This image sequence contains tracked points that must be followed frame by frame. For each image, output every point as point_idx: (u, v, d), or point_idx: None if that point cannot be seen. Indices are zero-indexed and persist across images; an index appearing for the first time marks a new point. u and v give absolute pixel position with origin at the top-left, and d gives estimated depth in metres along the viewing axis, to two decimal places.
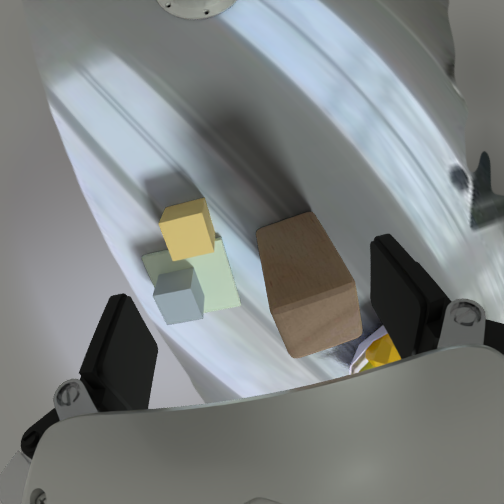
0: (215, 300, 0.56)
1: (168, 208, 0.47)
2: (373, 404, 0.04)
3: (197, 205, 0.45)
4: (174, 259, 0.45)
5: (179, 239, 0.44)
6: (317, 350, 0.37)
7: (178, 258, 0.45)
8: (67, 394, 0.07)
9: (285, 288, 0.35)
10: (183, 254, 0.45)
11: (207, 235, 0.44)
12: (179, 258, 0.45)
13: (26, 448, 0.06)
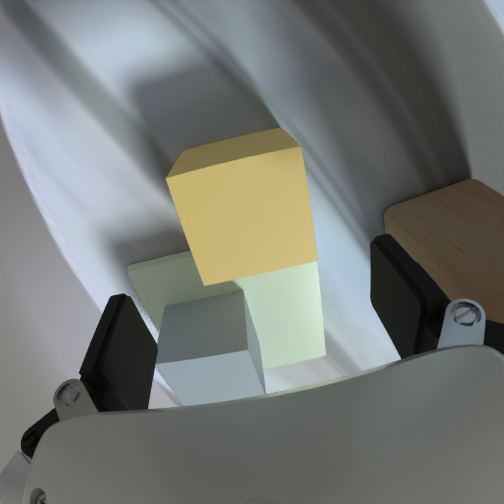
0: (280, 349, 0.28)
1: (191, 150, 0.18)
2: (373, 404, 0.04)
3: (273, 138, 0.16)
4: (208, 280, 0.17)
5: (226, 227, 0.15)
6: None
7: (219, 278, 0.17)
8: (67, 394, 0.07)
9: None
10: (234, 268, 0.17)
11: (307, 215, 0.15)
12: (222, 278, 0.17)
13: (26, 448, 0.06)
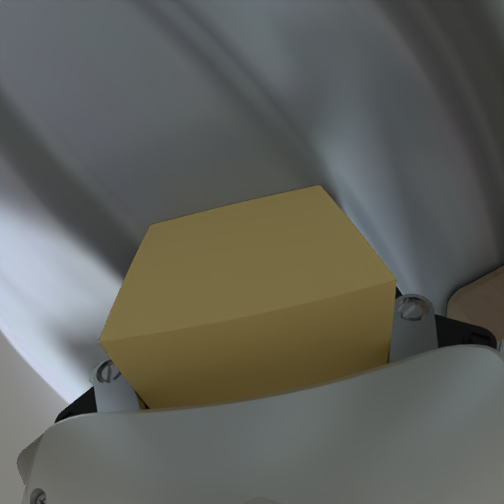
0: None
1: (162, 232, 0.10)
2: (373, 404, 0.04)
3: (318, 225, 0.08)
4: None
5: None
6: None
7: None
8: (109, 370, 0.08)
9: None
10: None
11: None
12: None
13: None
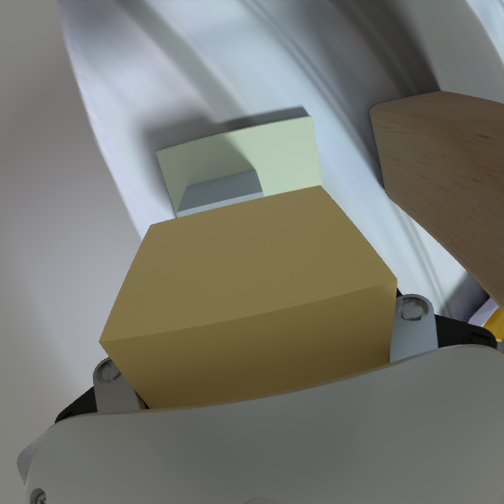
0: None
1: (163, 232, 0.10)
2: (373, 404, 0.04)
3: (319, 225, 0.08)
4: None
5: None
6: None
7: None
8: (109, 371, 0.08)
9: None
10: None
11: None
12: None
13: None
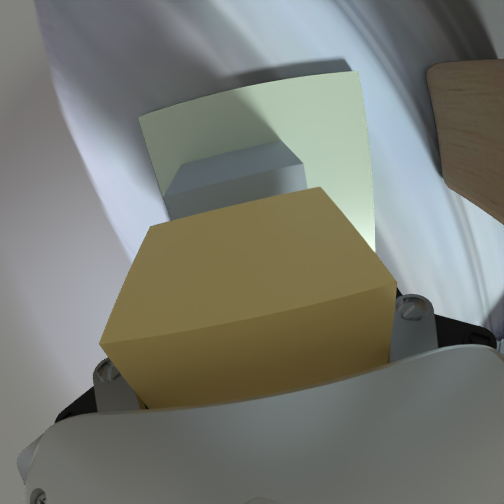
0: None
1: (162, 233, 0.10)
2: (373, 404, 0.04)
3: (319, 226, 0.08)
4: None
5: None
6: None
7: None
8: (109, 371, 0.08)
9: None
10: None
11: None
12: None
13: None
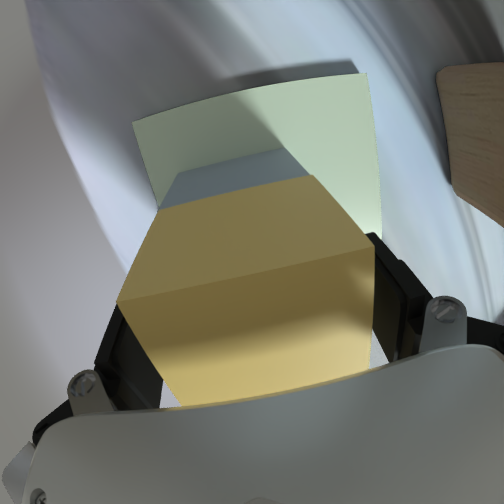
0: None
1: (170, 215, 0.12)
2: (373, 404, 0.04)
3: (309, 206, 0.10)
4: None
5: (229, 370, 0.09)
6: None
7: None
8: (82, 385, 0.08)
9: None
10: None
11: (364, 347, 0.09)
12: None
13: (38, 441, 0.06)
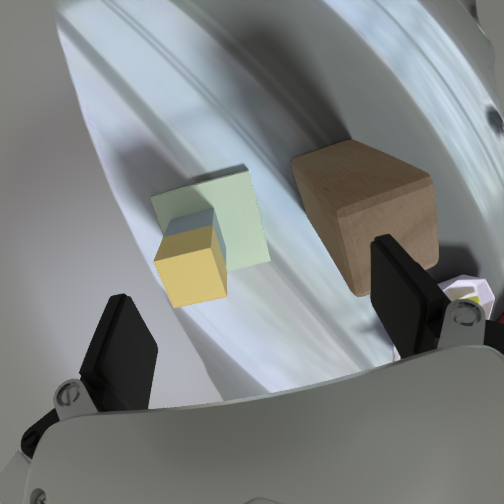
0: (239, 253, 0.46)
1: (167, 239, 0.37)
2: (373, 404, 0.04)
3: (204, 237, 0.35)
4: (175, 305, 0.35)
5: (181, 281, 0.34)
6: None
7: (180, 304, 0.35)
8: (68, 394, 0.07)
9: (347, 189, 0.25)
10: (187, 300, 0.35)
11: (218, 276, 0.34)
12: (182, 304, 0.35)
13: (26, 448, 0.06)
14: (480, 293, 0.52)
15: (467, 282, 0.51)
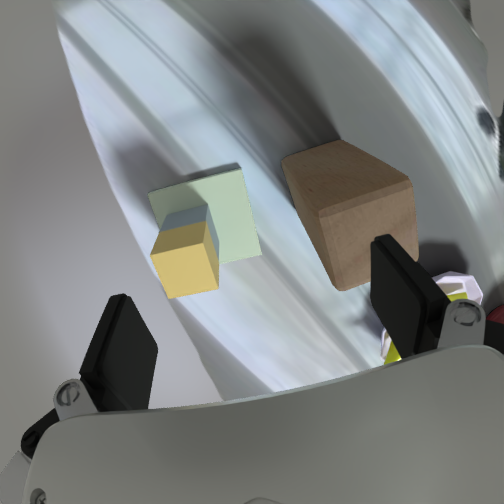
0: (232, 247, 0.48)
1: (163, 234, 0.39)
2: (373, 404, 0.04)
3: (197, 232, 0.37)
4: (170, 296, 0.37)
5: (175, 274, 0.36)
6: (368, 278, 0.30)
7: (175, 295, 0.37)
8: (68, 394, 0.07)
9: (330, 190, 0.28)
10: (181, 291, 0.37)
11: (210, 269, 0.36)
12: (176, 295, 0.37)
13: (26, 448, 0.06)
14: (468, 289, 0.55)
15: (455, 278, 0.54)
